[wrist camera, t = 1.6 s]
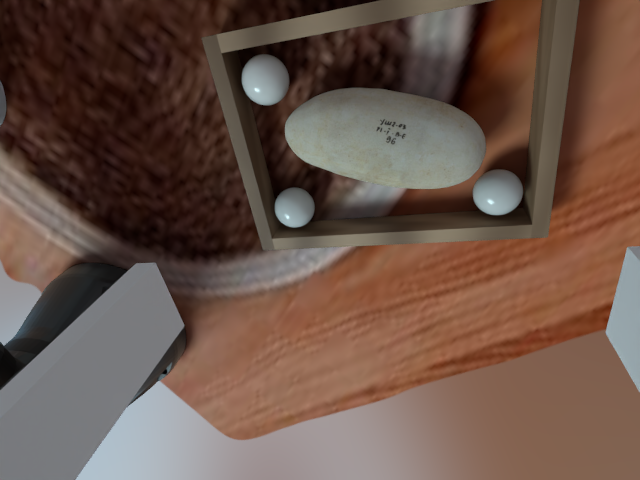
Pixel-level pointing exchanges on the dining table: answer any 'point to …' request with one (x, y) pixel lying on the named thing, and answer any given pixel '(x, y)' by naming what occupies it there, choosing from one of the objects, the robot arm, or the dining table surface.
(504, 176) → the pebble
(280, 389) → the dining table surface
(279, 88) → the pebble
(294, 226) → the pale glossy ball
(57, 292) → the robot arm
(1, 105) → the mug
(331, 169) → the stone
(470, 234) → the parts frame
